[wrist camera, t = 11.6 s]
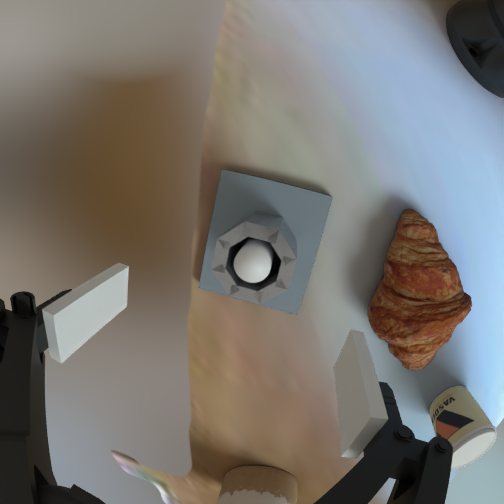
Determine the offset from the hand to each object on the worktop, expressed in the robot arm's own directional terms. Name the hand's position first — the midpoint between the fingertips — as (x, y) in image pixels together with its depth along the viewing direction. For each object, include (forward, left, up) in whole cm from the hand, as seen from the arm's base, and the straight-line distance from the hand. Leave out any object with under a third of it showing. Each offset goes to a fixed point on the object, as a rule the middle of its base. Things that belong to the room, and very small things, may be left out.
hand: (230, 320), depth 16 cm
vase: (+49, +12, -19) cm, 54 cm away
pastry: (+2, +19, -19) cm, 27 cm away
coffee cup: (+18, +37, -19) cm, 45 cm away
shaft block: (0, 0, -18) cm, 18 cm away
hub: (0, 0, -17) cm, 17 cm away
